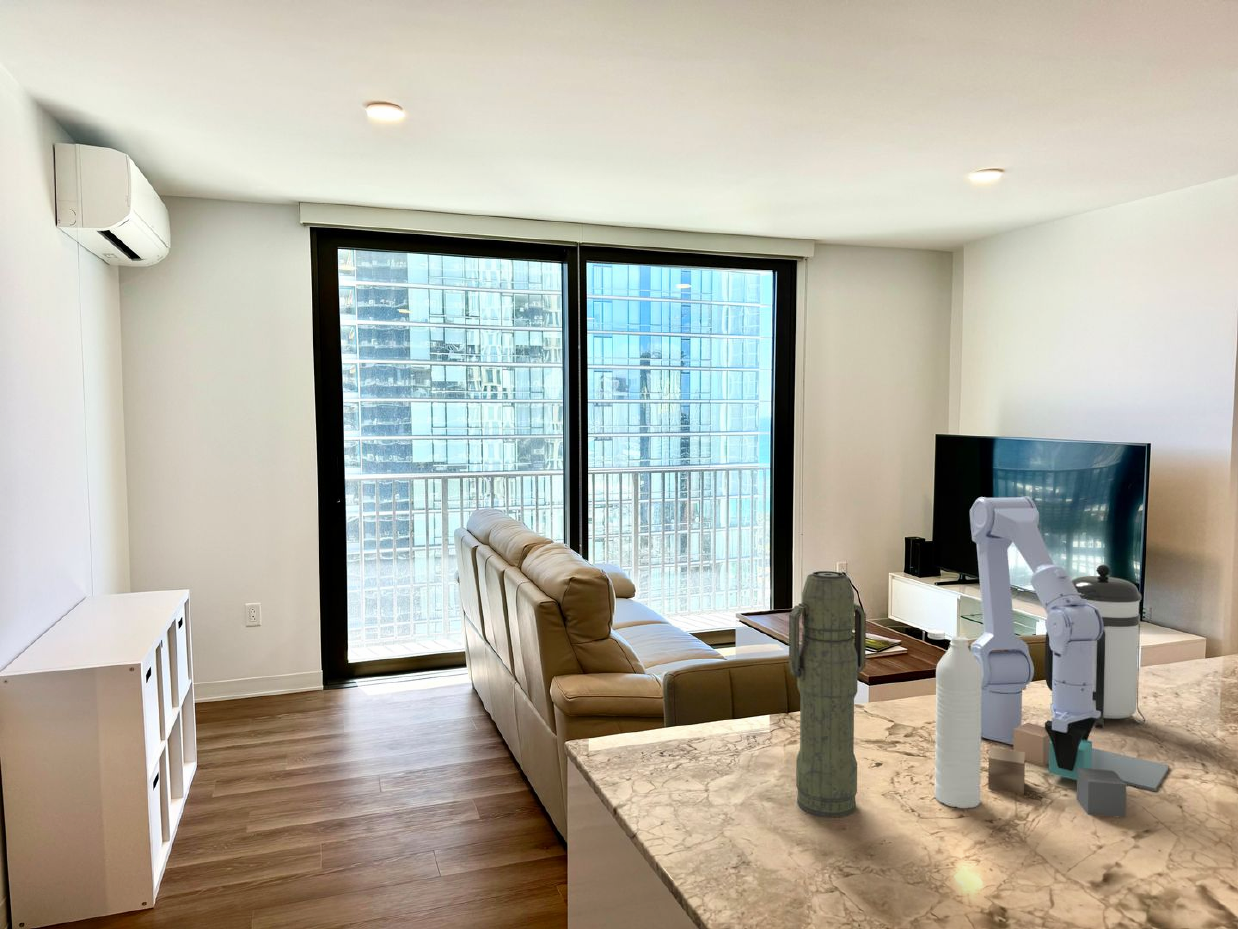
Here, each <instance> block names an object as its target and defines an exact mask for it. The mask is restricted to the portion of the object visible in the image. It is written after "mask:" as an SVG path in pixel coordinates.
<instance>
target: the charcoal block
mask: <svg viewBox="0 0 1238 929" xmlns="http://www.w3.org/2000/svg"><path fill="white" fill-rule="evenodd" d="M1126 799H1127V785H1126V784H1125V783H1124V781H1123V780H1122V779H1121V778H1120V777H1119V776H1118V775H1117V774H1116V773H1115V772H1114V771H1111V770H1098V769H1086V768H1077V780H1076V801H1077V802H1078V804H1079V805H1080V806H1081V808H1082V809H1083V810H1084V812H1086V813H1085V814H1087V815H1088V816H1089V815H1090V816H1091V815H1093V816H1101V817H1103V816H1104V817H1113V816H1116V817H1115V818H1124V817H1125V818H1126V805H1127V800H1126ZM1117 816H1118V817H1117Z"/></svg>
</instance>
